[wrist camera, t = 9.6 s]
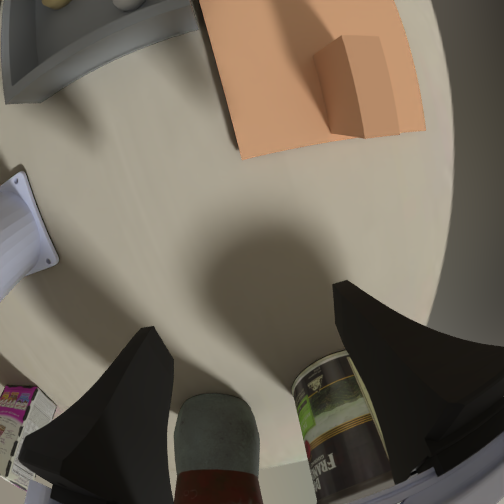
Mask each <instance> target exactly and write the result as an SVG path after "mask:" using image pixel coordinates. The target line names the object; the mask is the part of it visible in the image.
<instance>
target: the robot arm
mask: <svg viewBox="0 0 504 504" xmlns="http://www.w3.org/2000/svg"><path fill="white" fill-rule="evenodd" d="M17 179H18V182H17ZM49 259H50V261H51V262H50V261H49ZM58 262H59V257H58V255H57V253H56V251H55V249H54V246H53V244H52V242H51V240H50V238H49V235H48V233H47V231H46V228H45V226H44V223H43V221H42V218H41V216H40V213H39V211H38V208H37V205H36V203H35V200H34V197H33V194H32V191H31V188H30V185H29V182H28V179H27V176H26V173H25V172H24V171H20V172H18V173H17V174H15V175H14V176H13V177H11V178H10V179H9V180H7V181H6V182H5V183H3V184H2V185H1V186H0V302H1V301H2V300H3V299H4V297H5V296H6V295H7V294H8V293H9V292H10V291H11V290H12V289H13V288H14V287H15V285H16V284H17V283H18V282H19V281H20V280H21V279H22V278H23V277H25V276H27V275H30V274H33V273H35V272H38V271H41V270H44V269H46V268H49V267H52V266H55V265H56V264H57V263H58ZM332 286H333V297H334V311H335V324H336V326H337V329H338V332H339V334H340V337H341V340H342V342H343V345H344V347H345V348H346V350H347V352H348V354H349V356H350V358H351V360H352V362H353V364H354V366H355V368H356V370H357V371H358V373H359V375H360V377H361V379H362V381H363V383H364V385H365V387H366V389H367V392H368V394H369V396H370V399H371V402H372V405H373V407H374V410H375V413H376V416H377V419H378V422H379V425H380V429H381V432H382V435H383V439H384V442H385V446H386V450H387V453H388V458H389V462H390V466H391V471H392V476H393V480H394V483H395V486H392V487H390V488H388V489H385V490H383V491H380V492H378V493H375V494H372V495H369V496H367V497H364V498H361V499H358V500H355V501H352V502H348V503H345V504H397V503H399V502H401V503H400V504H497V503H498V502H499V501H500V500H501V499H502V498H503V497H504V347H501V346H494V345H486V344H481V343H476V342H471V341H467V340H463V339H460V338H456V337H453V336H450V335H447V334H444V333H441V332H438V331H436V330H433V329H430V328H428V327H426V326H424V325H421V324H419V323H417V322H415V321H413V320H411V319H409V318H407V317H405V316H403V315H401V314H399V313H398V312H396V311H394V310H392V309H391V308H389V307H387V306H386V305H384V304H382V303H381V302H379V301H378V300H376V299H375V298H373V297H372V296H370V295H369V294H367V293H366V292H364V291H363V290H361V289H360V288H358V287H357V286H355V285H354V284H352V283H351V282H349V281H348V280H345V281H342V282H338V283H335V284H332ZM173 380H174V359H173V357H172V356H171V354H170V353H169V351H168V349H167V348H166V346H165V344H164V343H163V341H162V339H161V338H160V336H159V334H158V333H157V331H156V329H155V327H154V326H151V327H145V328H141V329H140V330H139V331H138V332H137V333H136V334H135V335H134V337H133V338H132V339H131V340H130V342H129V343H128V344H127V345H126V347H125V348H124V349H123V350H122V352H121V353H120V354H119V355H118V357H117V358H116V359H115V361H114V362H113V363H112V364H111V365H110V367H109V368H108V369H107V370H106V371H105V373H104V374H103V375H102V376H101V377H100V378H99V380H98V381H97V382H96V383H95V384H94V385H93V386H92V387H91V388H90V389H89V390H88V391H87V392H86V393H85V394H84V395H83V396H82V397H81V398H80V399H79V400H78V401H77V402H76V403H74V404H73V405H72V406H71V407H70V408H69V409H67V410H66V411H65V412H64V413H62V414H61V415H60V416H58V417H57V418H56V419H54V420H53V421H51V422H50V423H48V424H47V425H45V426H43V427H42V428H40V429H38V430H36V431H34V432H33V433H31V434H29V435H27V436H25V438H24V441H23V444H22V447H21V450H20V453H19V456H18V460H19V462H20V463H21V464H22V465H24V466H25V467H26V468H28V469H29V470H31V471H32V472H34V473H35V474H37V475H38V476H40V477H42V478H43V479H45V480H47V481H48V482H50V483H52V484H53V486H52V489H51V488H49V487H47V486H45V485H43V484H40V483H38V482H36V481H34V480H30V481H29V485H28V489H27V494H26V499H25V503H24V504H174V501H173V496H172V491H171V485H170V478H169V470H168V456H167V426H168V418H169V410H170V403H171V396H172V388H173Z"/></svg>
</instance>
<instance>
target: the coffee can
mask: <svg viewBox="0 0 504 504" xmlns="http://www.w3.org/2000/svg"><path fill="white" fill-rule="evenodd" d="M292 395H293V397H294V400H295V405H296V409H297V414H298V418H299V422H300V426H301V431H302V435H303V440H304V444H305V448H306V453H307V458H308V461H309V466H310V470H311V475H312V480H313V484H314V488H315V493H316V498H317V504H345V503H348V502H352V501H355V500H358V499H361V498H364V497H367V496H369V495H372V494H375V493H378V492H380V491H383V490H385V489H388V488H390V487H392V486H395V483H394V480H393V476H392V471H391V466H390V462H389V458H388V453H387V450H386V446H385V442H384V439H383V435H382V432H381V429H380V425H379V422H378V419H377V416H376V413H375V410H374V407H373V405H372V402H371V399H370V396H369V394H368V392H367V389H366V387H365V385H364V383H363V381H362V379H361V377H360V375H359V373H358V371H357V370H356V368H355V366H354V364H353V362H352V360H351V358H350V356H349V354H348V352H347V350H344V351H341V352H337V353H334V354H331V355H328V356H326V357H324V358H322V359H320V360H318V361H316V362H315V363H313V364H311V365H310V366H308V367H307V368H306V369H305V370H304V371H302V372H301V373H300V375H299V376H298V377H297V378H296V380H295V382H294V384H293V386H292Z"/></svg>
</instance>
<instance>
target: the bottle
mask: <svg viewBox="0 0 504 504" xmlns="http://www.w3.org/2000/svg"><path fill="white" fill-rule="evenodd" d="M174 451H175V463H176V471H177V482H176V490H175V498H174V504H263V501H262V496H261V491H260V486H259V481H258V474H259V454H260V438H259V433H258V429H257V425H256V421H255V417H254V415H253V413H252V411H251V408H250V407H249V405H248V404H247V403H246V402H244V401H243V400H241V399H239V398H237V397H233V396H230V395H224V394H202V395H198V396H194V397H192V398H190V399H188V400H186V402H185V403H184V404H183V406H182V408H181V410H180V412H179V414H178V418H177V422H176V426H175V431H174Z"/></svg>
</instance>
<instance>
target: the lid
mask: <svg viewBox="0 0 504 504" xmlns="http://www.w3.org/2000/svg"><path fill="white" fill-rule="evenodd" d="M199 2H200V6H201V9H202V13H203V16H204V20H205V24H206V27H207V31H208V34H209V38H210V42H211V45H212V49H213V53H214V56H215V60H216V64H217V67H218V71H219V75H220V78H221V82H222V86H223V90H224V93H225V97H226V101H227V105H228V108H229V112H230V116H231V120H232V124H233V127H234V131H235V135H236V139H237V143H238V147H239V151H240V154H241V158H242V160H245V159H249V158H253V157H257V156H261V155H266V154H270V153H275V152H279V151H284V150H289V149H294V148H299V147H304V146H309V145H315V144H320V143H326V142H332V141H338V140H345V139H352V138H364V139H366V138H374V137H382V136H391V135H400V133H402V132H414V131H426V127H425V119H424V112H423V106H422V100H421V94H420V89H419V84H418V79H417V75H416V70H415V66H414V62H413V58H412V54H411V50H410V47H409V43H408V40H407V37H406V33H405V30H404V27H403V24H402V21H401V18H400V16H399V13H398V10H397V7H396V5H395V2H394V0H199Z"/></svg>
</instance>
